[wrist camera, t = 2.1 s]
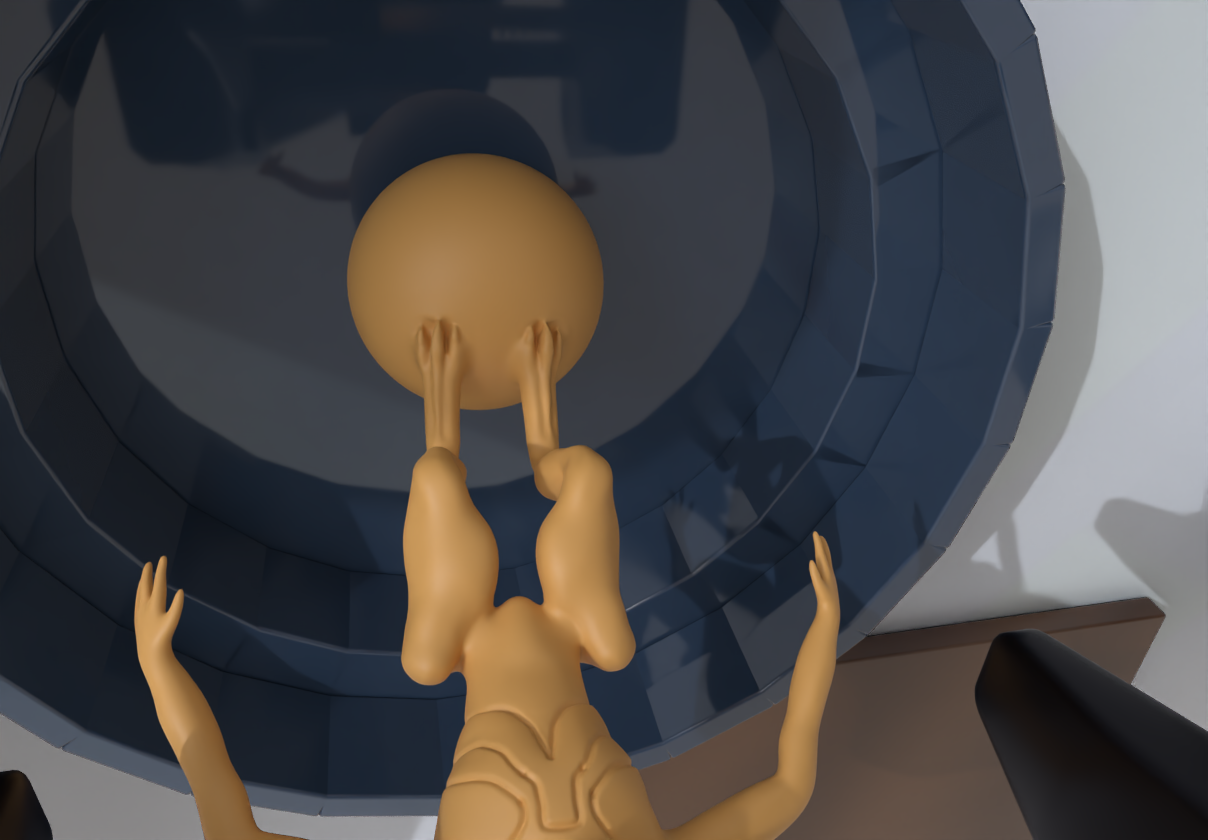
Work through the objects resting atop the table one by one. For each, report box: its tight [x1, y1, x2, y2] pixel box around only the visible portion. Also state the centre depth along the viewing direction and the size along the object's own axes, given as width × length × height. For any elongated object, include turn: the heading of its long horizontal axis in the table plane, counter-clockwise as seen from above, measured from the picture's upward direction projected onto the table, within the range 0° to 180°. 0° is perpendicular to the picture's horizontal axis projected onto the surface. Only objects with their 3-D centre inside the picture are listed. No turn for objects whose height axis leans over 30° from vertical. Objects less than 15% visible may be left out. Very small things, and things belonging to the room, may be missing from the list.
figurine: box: [134, 153, 840, 840], centre depth 12 cm, size 8×6×12 cm
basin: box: [0, 0, 1065, 817], centre depth 15 cm, size 17×17×5 cm
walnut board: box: [638, 597, 1166, 840], centre depth 28 cm, size 20×13×1 cm, turn 88°
